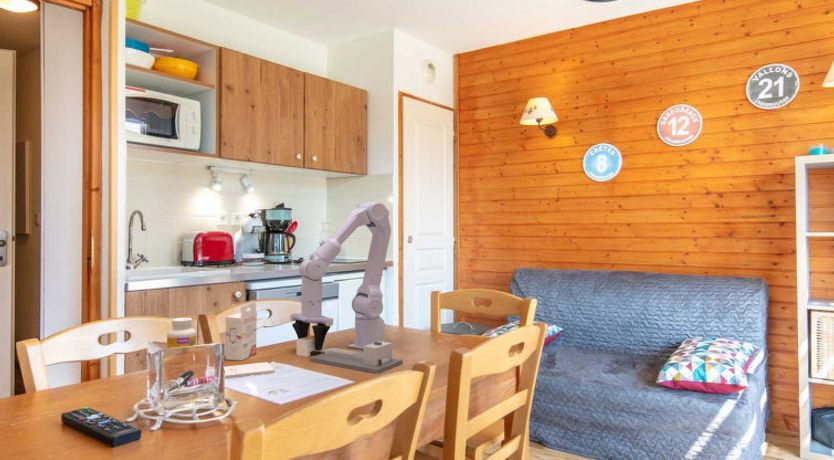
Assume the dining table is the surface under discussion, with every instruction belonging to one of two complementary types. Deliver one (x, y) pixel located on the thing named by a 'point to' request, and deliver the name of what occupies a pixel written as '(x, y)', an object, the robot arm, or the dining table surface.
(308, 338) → the din module
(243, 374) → the external hard drive
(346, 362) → the mounting board
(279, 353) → the dining table surface
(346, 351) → the din rail
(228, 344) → the ink cartridge box
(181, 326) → the supplement bottle
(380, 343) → the module
